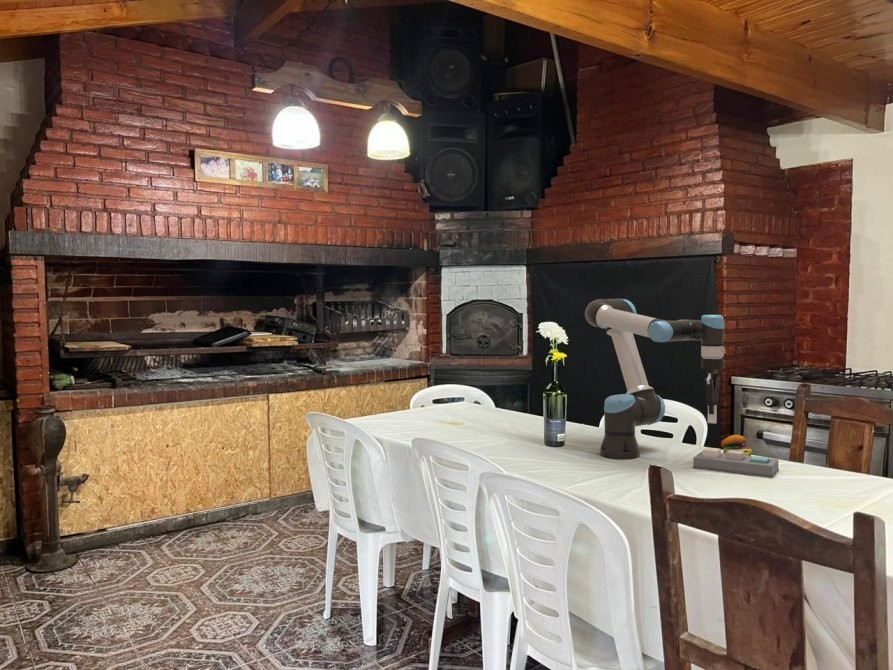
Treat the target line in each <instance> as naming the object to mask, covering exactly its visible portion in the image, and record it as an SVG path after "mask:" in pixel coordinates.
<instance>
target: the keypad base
mask: <svg viewBox="0 0 893 670" xmlns="http://www.w3.org/2000/svg"><path fill="white" fill-rule="evenodd" d="M752 457H753V456H752V455H751V456H744V460H743V461H738V460H729V459H726V454H724V453H723V452H721V456H720V457H719V458H711V457H703V450H701V451H700V452H699V453H697V454H696V455H694V456H693V459H692V469H695V470H701V471H702V470H703V471H704V470H705V471H710V472H711V471H713V472H719V473H729V474H737V475H744V476H753V477H760V478H768V479H773V478H774V477H775V475H777V473H778V472H779V471H780V468H779V458H770V457H768V458H769V463H768V464H766V463H757V462H751V458H752Z"/></svg>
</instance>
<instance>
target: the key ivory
mask: <svg viewBox="0 0 893 670" xmlns="http://www.w3.org/2000/svg"><path fill="white" fill-rule="evenodd" d="M702 451H703V457H711V458H719V457H720V456H721V453H722V450H721V448H716V447H707V446H706V447H705V448H704V449H702Z"/></svg>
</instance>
